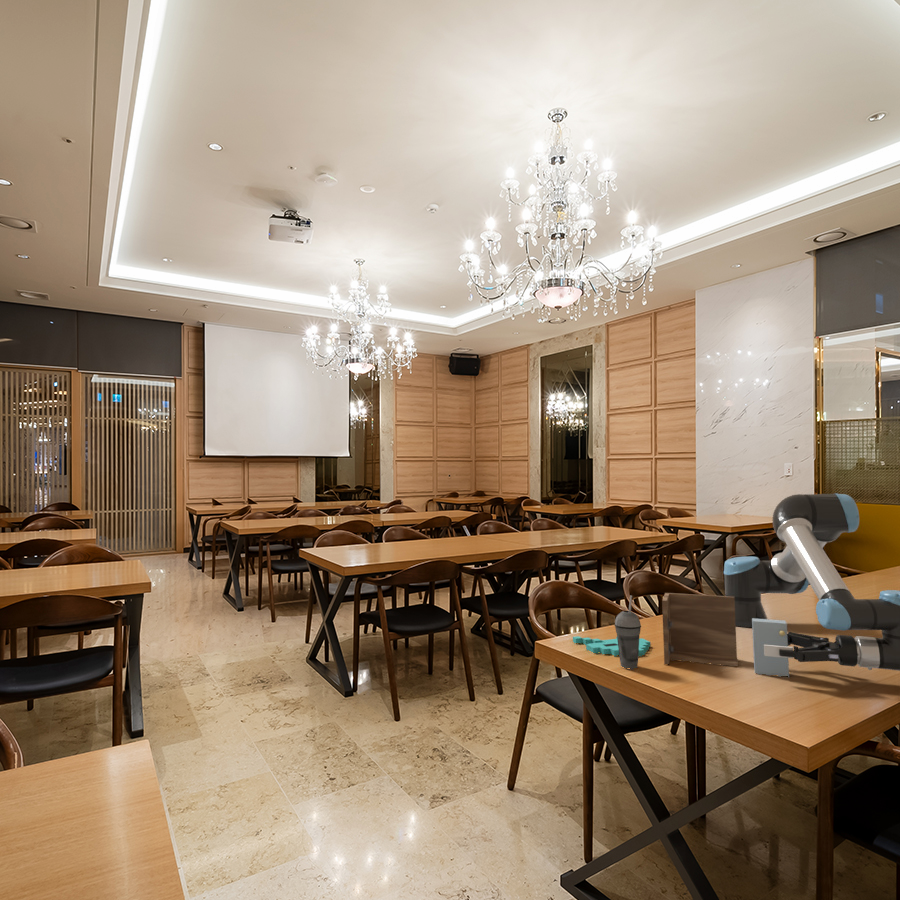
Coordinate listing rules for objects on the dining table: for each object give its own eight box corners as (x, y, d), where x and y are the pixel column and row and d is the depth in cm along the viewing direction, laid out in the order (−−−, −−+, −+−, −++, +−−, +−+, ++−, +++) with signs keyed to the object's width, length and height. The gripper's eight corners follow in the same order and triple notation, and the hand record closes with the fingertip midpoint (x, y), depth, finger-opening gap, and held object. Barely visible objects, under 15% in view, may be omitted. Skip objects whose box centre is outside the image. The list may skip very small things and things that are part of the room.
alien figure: (572, 643, 191) (604, 661, 172) (572, 636, 191) (604, 654, 172) (627, 638, 196) (663, 655, 177) (626, 631, 197) (663, 647, 177)
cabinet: (667, 652, 178) (665, 592, 179) (736, 659, 170) (734, 596, 171) (664, 664, 167) (662, 600, 168) (738, 672, 159) (735, 605, 160)
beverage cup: (617, 661, 170) (614, 592, 171) (643, 664, 167) (640, 593, 168) (614, 669, 163) (612, 597, 164) (641, 672, 160) (639, 598, 162)
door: (754, 669, 161) (752, 618, 162) (787, 673, 158) (785, 620, 158) (755, 675, 157) (753, 622, 157) (789, 678, 153) (787, 624, 154)
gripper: (868, 681, 138) (766, 671, 147) (845, 652, 161) (759, 645, 170) (866, 649, 139) (765, 641, 147) (844, 625, 162) (757, 619, 170)
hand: (761, 643), depth 159 cm, fingers open, 13 cm apart
